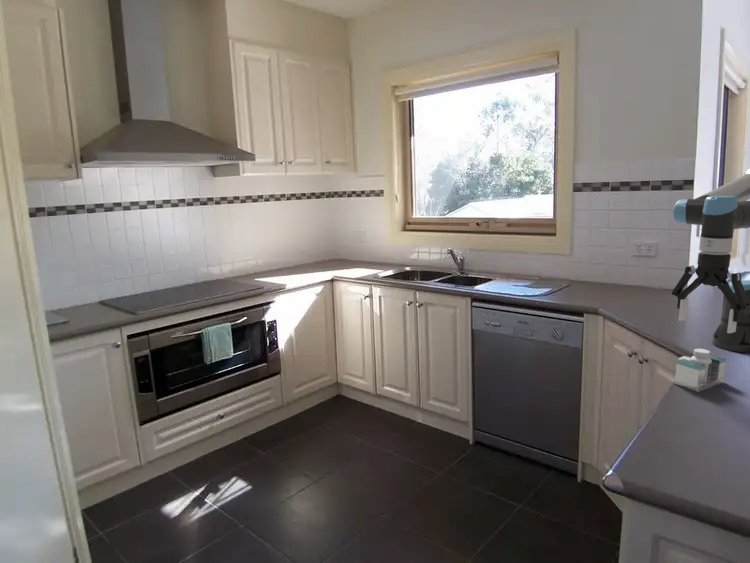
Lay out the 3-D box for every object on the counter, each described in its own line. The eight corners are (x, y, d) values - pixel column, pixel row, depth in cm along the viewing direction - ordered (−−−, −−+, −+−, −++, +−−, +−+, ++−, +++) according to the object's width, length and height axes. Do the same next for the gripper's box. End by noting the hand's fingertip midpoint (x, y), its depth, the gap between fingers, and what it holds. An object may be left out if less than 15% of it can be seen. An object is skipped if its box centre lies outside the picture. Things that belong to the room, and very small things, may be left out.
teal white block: (699, 374, 158) (702, 352, 157) (724, 382, 152) (727, 359, 151) (673, 383, 152) (675, 360, 151) (697, 392, 146) (700, 368, 145)
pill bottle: (701, 375, 155) (705, 347, 153) (713, 383, 150) (717, 353, 148) (684, 376, 155) (687, 348, 153) (695, 383, 149) (699, 354, 148)
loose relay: (682, 367, 164) (683, 355, 163) (699, 372, 160) (701, 360, 159) (676, 371, 162) (677, 358, 161) (694, 375, 158) (695, 363, 157)
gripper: (663, 248, 153) (656, 317, 158) (757, 260, 132) (746, 340, 136) (678, 245, 156) (671, 313, 161) (772, 257, 135) (761, 335, 140)
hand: (705, 326), depth 149 cm, fingers open, 13 cm apart
